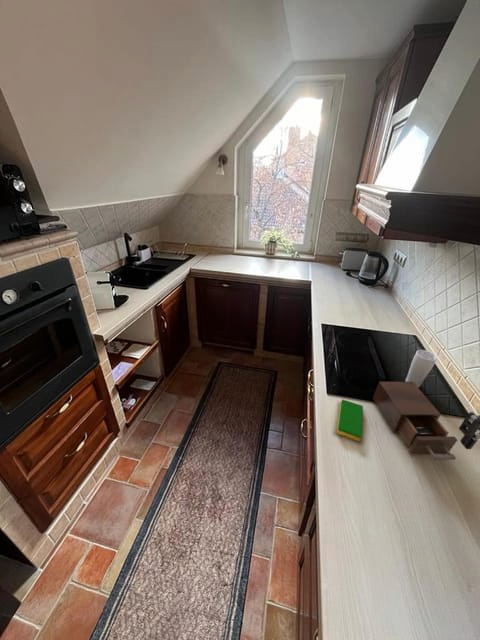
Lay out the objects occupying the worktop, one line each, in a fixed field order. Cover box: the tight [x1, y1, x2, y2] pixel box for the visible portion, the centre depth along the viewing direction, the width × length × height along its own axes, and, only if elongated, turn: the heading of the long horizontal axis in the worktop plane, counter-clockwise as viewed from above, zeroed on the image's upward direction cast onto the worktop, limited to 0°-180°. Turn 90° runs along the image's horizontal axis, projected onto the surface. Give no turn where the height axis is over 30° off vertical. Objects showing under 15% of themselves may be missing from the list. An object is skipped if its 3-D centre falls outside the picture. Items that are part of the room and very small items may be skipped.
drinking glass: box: [404, 349, 438, 389], centre depth 100 cm, size 7×7×15 cm
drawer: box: [397, 416, 458, 461], centre depth 79 cm, size 18×11×7 cm, turn 1°
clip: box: [415, 427, 434, 439], centre depth 79 cm, size 5×3×3 cm, turn 92°
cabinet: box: [372, 381, 442, 433], centre depth 88 cm, size 15×13×9 cm
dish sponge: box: [336, 399, 364, 442], centre depth 87 cm, size 7×14×2 cm, turn 156°
